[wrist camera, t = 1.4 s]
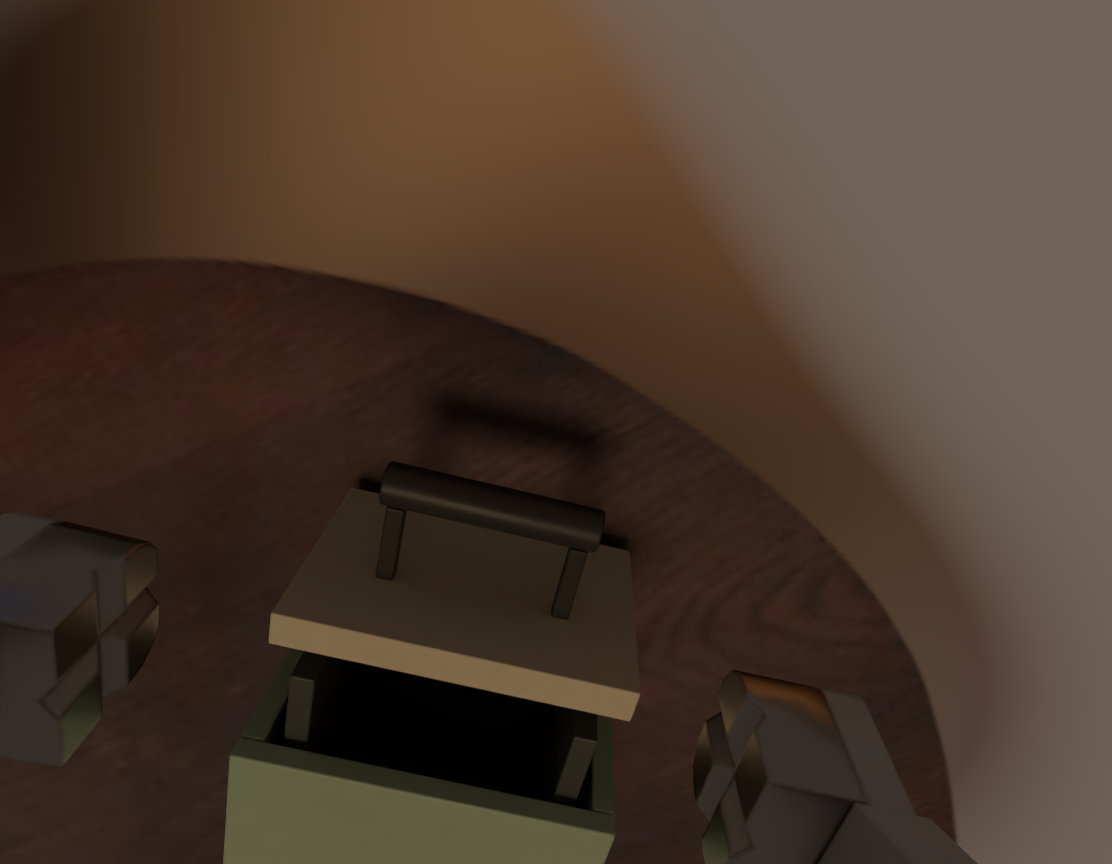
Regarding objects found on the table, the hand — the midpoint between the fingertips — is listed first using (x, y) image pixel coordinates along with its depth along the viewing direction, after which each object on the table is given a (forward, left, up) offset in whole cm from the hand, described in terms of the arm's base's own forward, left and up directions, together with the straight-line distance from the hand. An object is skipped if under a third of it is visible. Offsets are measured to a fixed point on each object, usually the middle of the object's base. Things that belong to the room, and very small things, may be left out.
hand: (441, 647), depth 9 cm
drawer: (+14, 0, -18) cm, 23 cm away
